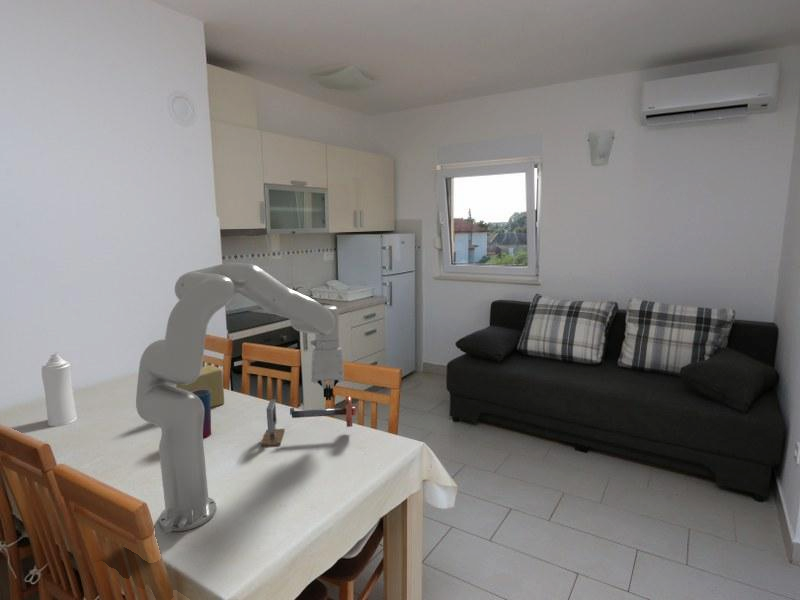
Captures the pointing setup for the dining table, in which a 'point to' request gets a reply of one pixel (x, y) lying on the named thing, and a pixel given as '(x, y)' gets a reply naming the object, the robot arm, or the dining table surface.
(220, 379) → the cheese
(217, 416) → the dining table surface
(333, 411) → the copper disc on rod
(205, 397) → the cup
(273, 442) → the eye post
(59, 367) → the spray can
